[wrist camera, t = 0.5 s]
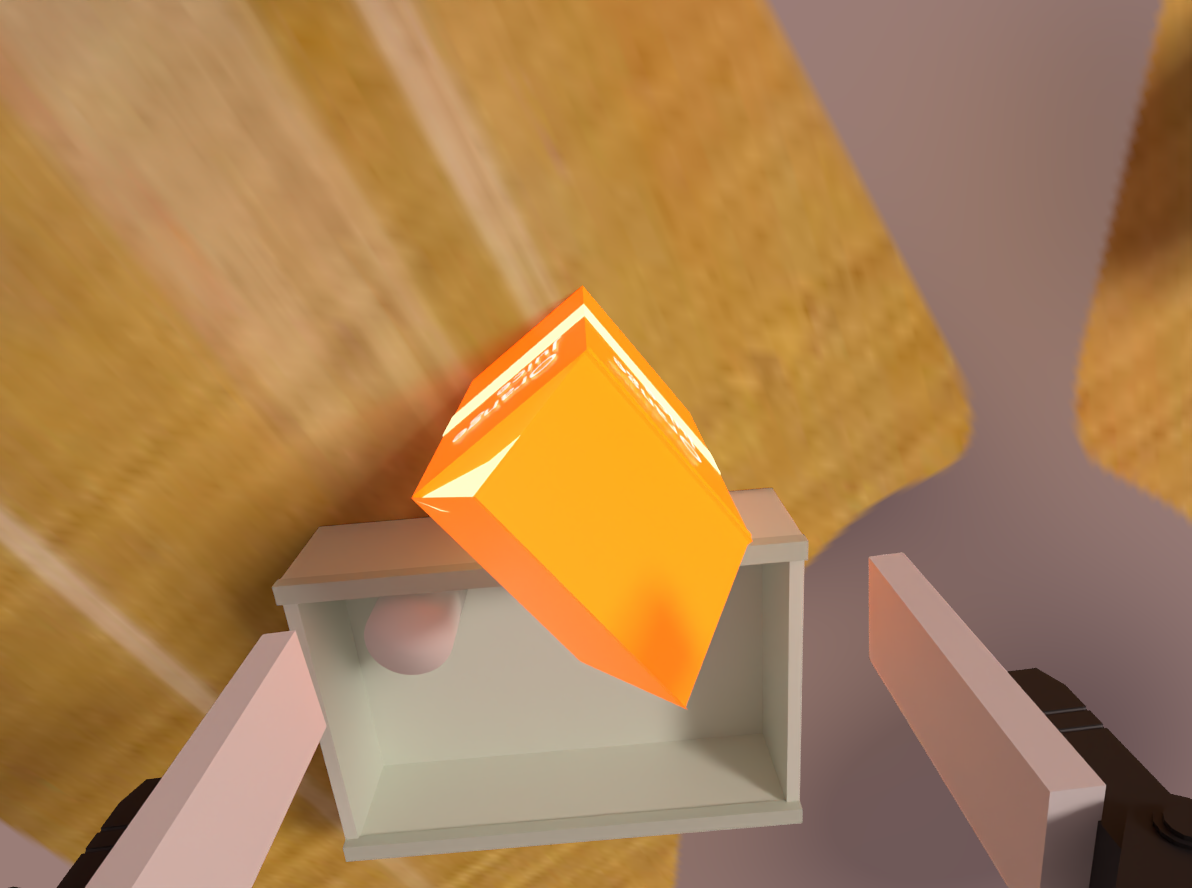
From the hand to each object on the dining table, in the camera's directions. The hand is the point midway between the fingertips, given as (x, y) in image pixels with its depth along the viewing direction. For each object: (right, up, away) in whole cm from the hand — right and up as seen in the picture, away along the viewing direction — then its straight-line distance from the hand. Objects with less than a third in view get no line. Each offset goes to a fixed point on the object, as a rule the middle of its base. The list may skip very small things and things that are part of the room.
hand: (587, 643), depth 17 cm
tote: (-2, -7, +26) cm, 27 cm away
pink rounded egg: (-9, -3, +24) cm, 26 cm away
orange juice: (-1, +7, +21) cm, 23 cm away
